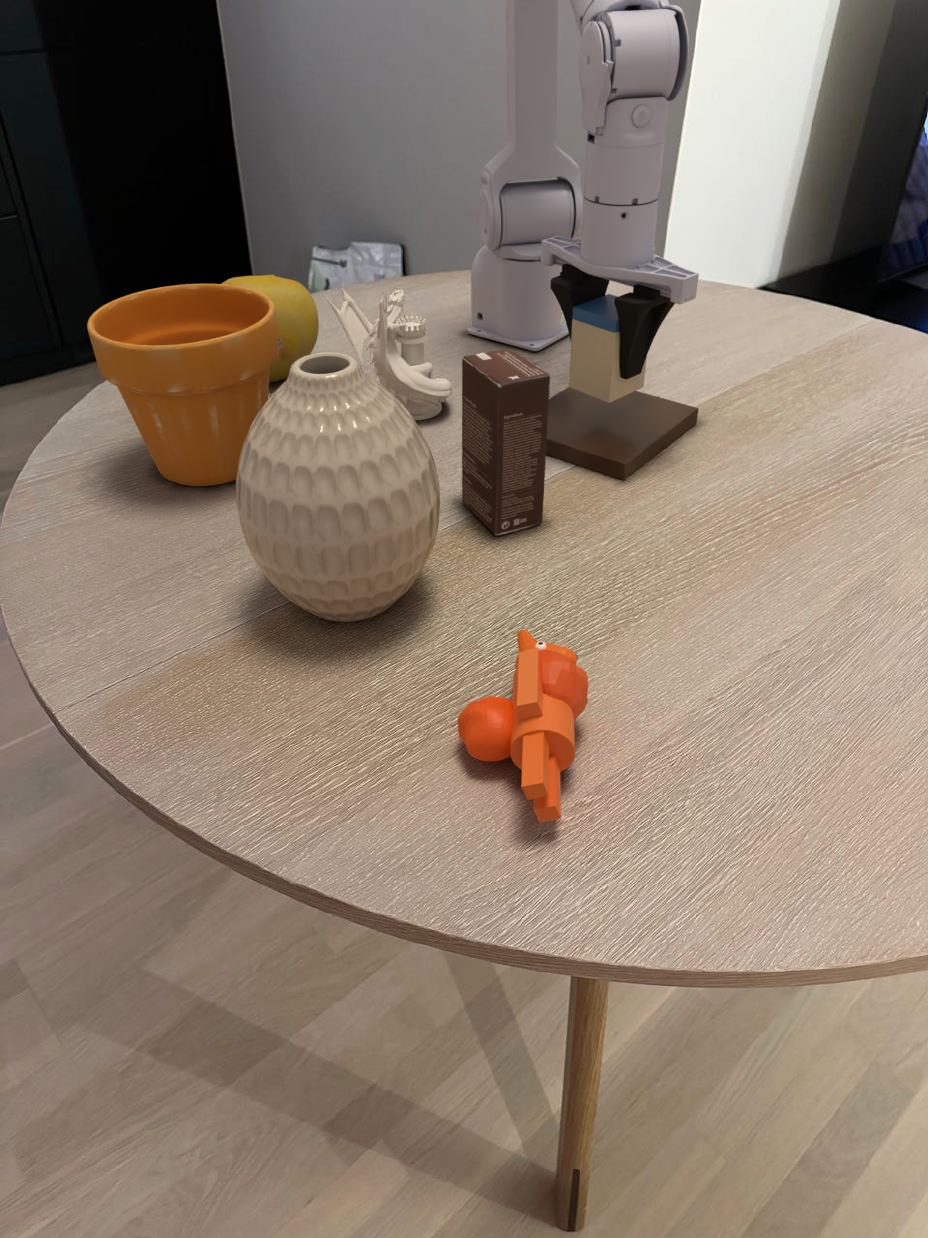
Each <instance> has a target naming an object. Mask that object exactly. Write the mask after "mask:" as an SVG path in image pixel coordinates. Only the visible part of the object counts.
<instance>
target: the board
mask: <svg viewBox="0 0 928 1238" xmlns="http://www.w3.org/2000/svg"><path fill="white" fill-rule="evenodd" d="M698 417H699V407H696V406H692V405H689V404H685V403H682V402H678V401H674V400H671V399H667V398H665V397H664V398H663V397H661V396H657V395H653V394H649V393H647V392H643V391H638V390H636V391H634V392H632V393H630V394H627V395H625V396H623V397H621V398H619V399H617V400H614V401H612V402H610V403H608V402H606V401H603V400H600V399H598V398H595V397H593V396H590V395H588V394H585V393H583V392H580V391H577V390H575V389H572V388H570V387H569V386H568V387H566V388H564V389H563V390H560V391H559V392H558V393H557V394H554V395H553V396H550V397H549V403H548V424H547V441H546V456H551V457H553V458H556V459H559V460H562V461H565V462H568V463H571V464H574V465H577V466H581V467H583V468H586V469H589V470H592V471H595V472H599V473H601V474H604V475H607V476H610V477H614V478H616V479H619V480H623V481H624V480H625V479H627V478H628V477H629V476H631V475H632V474H633V473H635V472H636V471H637V470H639V469H640V468H641V467H642V466H643V465H645V464H646V463H648V462H649V461H650V460H651V459H652V458H654V457H655V456H656V455H657V454H659V453H660V452H662V451H663V450H664V449H665V448H666V447H668V446H669V445H670V444H672V443H673V442H674V441H676V440H677V439H678V438H680V436H682V435H683V434H684V433H686V432H687V431H688V430H690V429H691V428H693V426H695V425H696V424H697V422H698V421H697V420H698Z"/></svg>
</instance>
